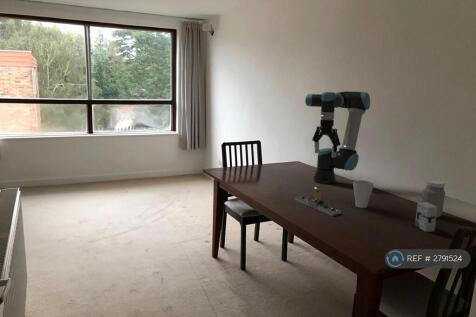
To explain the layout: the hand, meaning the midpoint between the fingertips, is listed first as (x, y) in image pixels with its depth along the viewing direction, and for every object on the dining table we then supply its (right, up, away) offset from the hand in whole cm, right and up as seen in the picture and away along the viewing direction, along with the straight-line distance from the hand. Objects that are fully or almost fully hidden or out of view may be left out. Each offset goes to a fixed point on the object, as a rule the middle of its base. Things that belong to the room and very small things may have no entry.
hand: (325, 155), depth 211 cm
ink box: (+37, -35, -42) cm, 66 cm away
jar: (+50, -32, -24) cm, 64 cm away
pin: (-8, -28, -16) cm, 33 cm away
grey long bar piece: (-8, -28, -15) cm, 33 cm away
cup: (+17, -29, -13) cm, 36 cm away
